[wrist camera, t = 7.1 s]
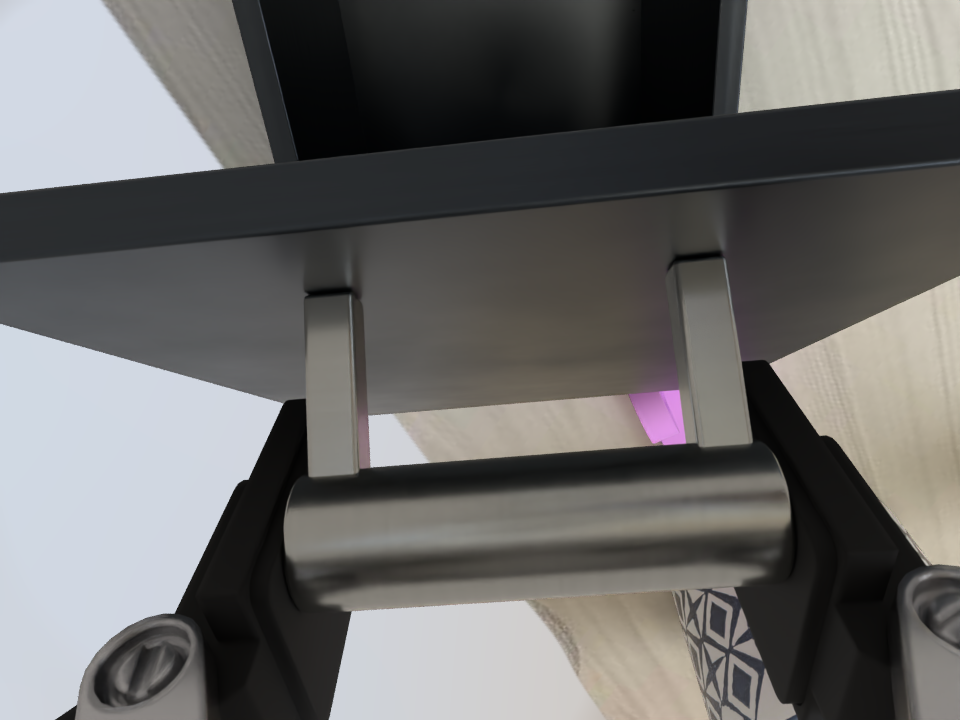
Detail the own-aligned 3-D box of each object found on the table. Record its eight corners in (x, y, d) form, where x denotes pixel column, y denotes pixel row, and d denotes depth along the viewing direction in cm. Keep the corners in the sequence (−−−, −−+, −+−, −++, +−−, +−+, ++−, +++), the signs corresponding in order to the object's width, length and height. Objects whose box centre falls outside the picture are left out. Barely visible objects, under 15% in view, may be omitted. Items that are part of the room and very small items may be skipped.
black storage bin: (301, -113, 27) (187, -166, 17) (660, -162, 26) (770, -249, 16) (380, 280, 36) (337, 401, 26) (649, 254, 35) (715, 369, 25)
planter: (913, 596, 48) (1061, 812, 36) (703, 654, 52) (770, 868, 39) (878, 442, 41) (1047, 644, 29) (636, 522, 45) (693, 733, 32)
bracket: (608, 335, 37) (631, 404, 31) (701, 292, 36) (744, 356, 30) (687, 487, 43) (720, 570, 37) (771, 455, 42) (818, 536, 36)
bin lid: (-162, 208, 7) (-215, 694, 6) (1255, 54, 6) (1426, 600, 5) (334, 397, 25) (339, 530, 24) (718, 365, 24) (737, 502, 23)
